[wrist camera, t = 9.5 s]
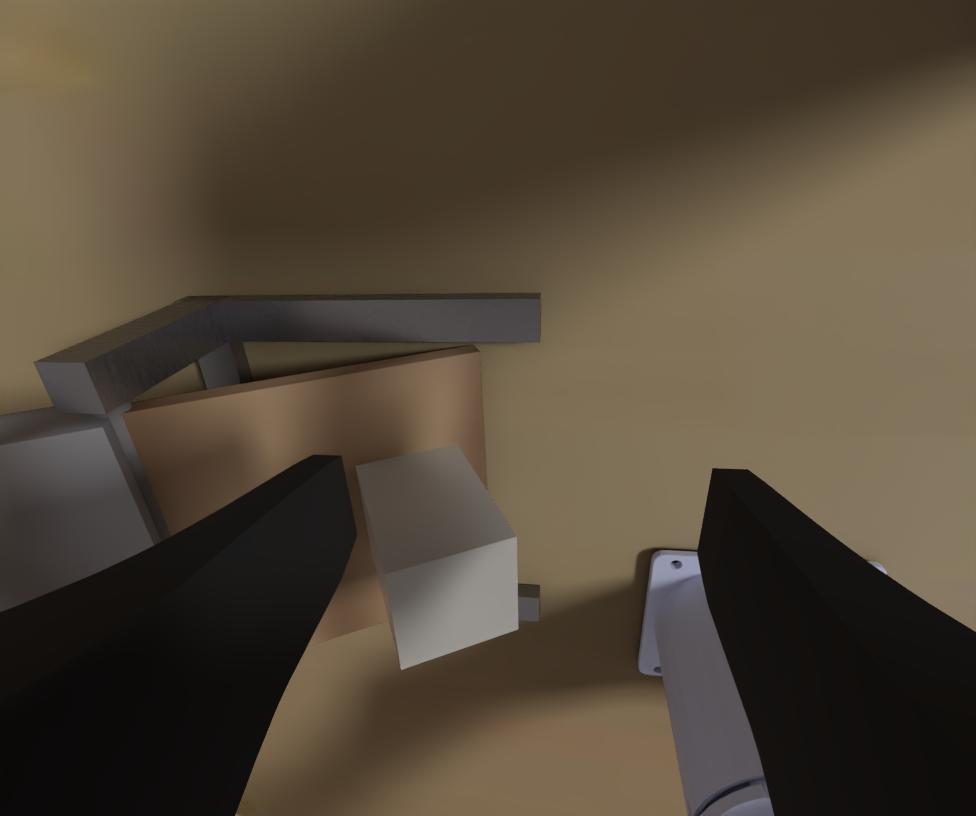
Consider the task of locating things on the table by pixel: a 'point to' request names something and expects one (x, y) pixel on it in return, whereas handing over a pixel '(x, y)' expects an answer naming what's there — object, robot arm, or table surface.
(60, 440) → the trapdoor
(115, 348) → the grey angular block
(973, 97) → the table surface
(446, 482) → the light grey block
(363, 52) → the table surface
